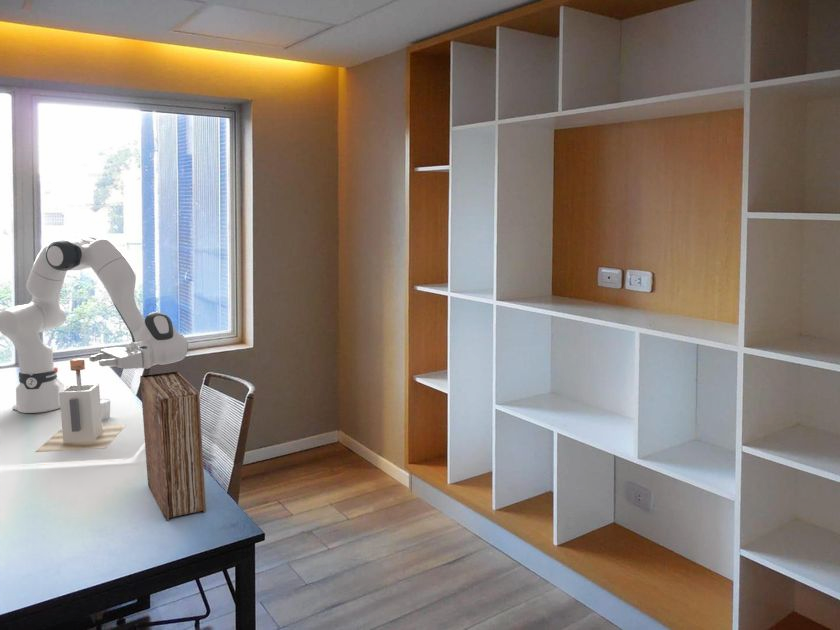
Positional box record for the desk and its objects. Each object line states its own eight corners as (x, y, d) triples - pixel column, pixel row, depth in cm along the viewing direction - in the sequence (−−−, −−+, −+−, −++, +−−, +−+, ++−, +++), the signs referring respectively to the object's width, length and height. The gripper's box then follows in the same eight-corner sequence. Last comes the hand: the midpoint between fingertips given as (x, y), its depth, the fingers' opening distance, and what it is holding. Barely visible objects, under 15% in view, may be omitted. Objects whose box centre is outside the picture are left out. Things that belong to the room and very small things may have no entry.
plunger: (76, 430, 224) (70, 358, 221) (96, 429, 225) (90, 357, 222) (69, 436, 218) (63, 362, 215) (90, 435, 219) (84, 361, 216)
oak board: (63, 430, 233) (63, 427, 232) (126, 427, 235) (126, 424, 235) (35, 455, 209) (34, 451, 209) (105, 452, 212) (105, 448, 212)
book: (206, 513, 169) (199, 392, 164) (166, 522, 164) (158, 397, 160) (183, 478, 191) (177, 371, 186) (147, 485, 186) (140, 375, 181)
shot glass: (103, 424, 240) (102, 404, 239) (85, 423, 241) (84, 403, 240) (116, 418, 246) (114, 398, 245) (98, 417, 248) (97, 398, 247)
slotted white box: (73, 433, 226) (69, 385, 223) (102, 432, 227) (98, 384, 225) (60, 444, 215) (56, 394, 213) (91, 443, 216) (87, 392, 214)
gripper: (126, 341, 238) (83, 346, 229) (150, 349, 223) (105, 356, 214) (128, 359, 239) (85, 365, 230) (151, 369, 224) (106, 376, 215)
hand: (94, 361), depth 222 cm, fingers open, 8 cm apart
